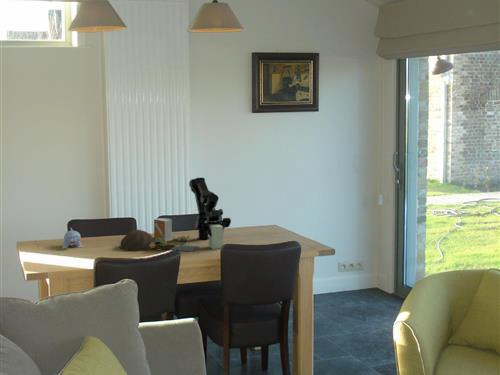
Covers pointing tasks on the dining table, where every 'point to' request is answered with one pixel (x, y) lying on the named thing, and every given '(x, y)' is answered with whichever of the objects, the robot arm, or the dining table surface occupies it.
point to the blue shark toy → (71, 239)
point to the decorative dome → (137, 241)
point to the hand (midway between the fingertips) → (216, 235)
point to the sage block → (216, 236)
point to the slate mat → (185, 248)
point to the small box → (163, 228)
